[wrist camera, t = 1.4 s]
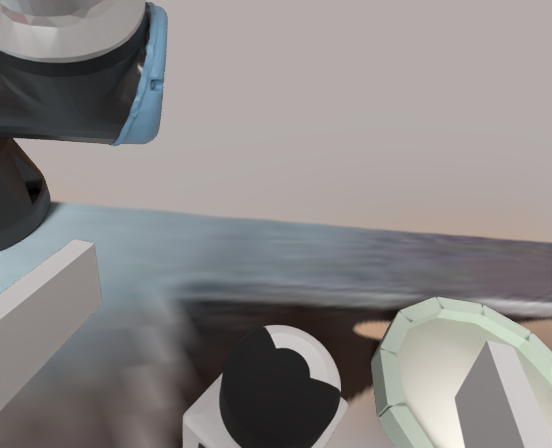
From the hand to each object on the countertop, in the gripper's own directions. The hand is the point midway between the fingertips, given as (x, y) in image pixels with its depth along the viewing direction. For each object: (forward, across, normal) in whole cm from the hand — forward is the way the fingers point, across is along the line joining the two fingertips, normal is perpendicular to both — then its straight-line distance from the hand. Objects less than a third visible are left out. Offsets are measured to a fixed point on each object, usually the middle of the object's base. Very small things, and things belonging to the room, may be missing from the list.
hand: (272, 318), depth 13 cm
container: (+7, -1, -20) cm, 22 cm away
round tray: (+17, +18, -20) cm, 31 cm away
